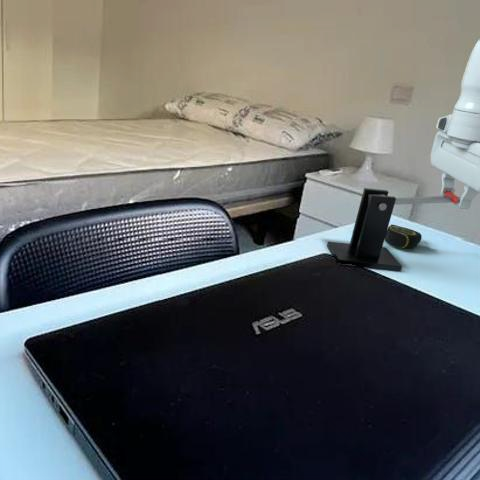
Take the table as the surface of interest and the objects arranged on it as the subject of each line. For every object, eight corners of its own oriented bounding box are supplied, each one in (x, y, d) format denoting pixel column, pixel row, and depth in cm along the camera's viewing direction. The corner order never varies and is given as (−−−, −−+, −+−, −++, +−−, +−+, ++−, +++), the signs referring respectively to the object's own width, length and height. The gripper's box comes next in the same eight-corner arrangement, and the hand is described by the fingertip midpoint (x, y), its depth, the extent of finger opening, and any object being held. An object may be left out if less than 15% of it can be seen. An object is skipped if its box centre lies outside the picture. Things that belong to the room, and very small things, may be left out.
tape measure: (419, 246, 109) (424, 230, 107) (411, 255, 104) (416, 238, 102) (387, 237, 113) (391, 221, 111) (378, 245, 108) (382, 228, 106)
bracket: (384, 252, 104) (402, 189, 98) (400, 271, 96) (421, 203, 90) (326, 246, 104) (341, 183, 99) (337, 265, 96) (355, 197, 91)
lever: (450, 200, 97) (452, 188, 96) (463, 209, 92) (465, 196, 91) (365, 204, 98) (366, 192, 97) (373, 212, 93) (374, 200, 93)
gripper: (530, 141, 79) (501, 223, 85) (466, 120, 98) (446, 187, 103) (490, 138, 79) (464, 219, 85) (433, 117, 98) (415, 185, 104)
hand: (453, 202), depth 94 cm, fingers closed on lever, 5 cm apart
